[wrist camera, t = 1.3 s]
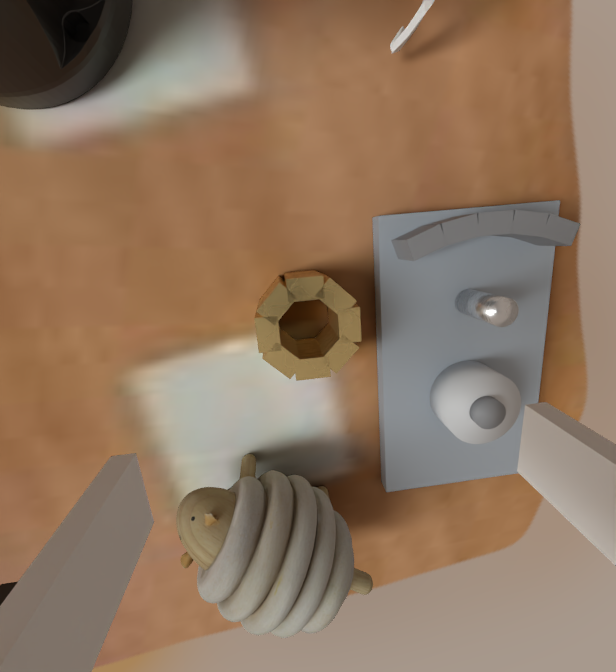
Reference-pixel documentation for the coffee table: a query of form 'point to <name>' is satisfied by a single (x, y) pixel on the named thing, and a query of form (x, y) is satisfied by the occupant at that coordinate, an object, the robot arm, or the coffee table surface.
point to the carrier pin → (487, 307)
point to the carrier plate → (459, 337)
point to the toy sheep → (270, 552)
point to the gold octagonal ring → (308, 353)
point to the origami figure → (410, 27)
